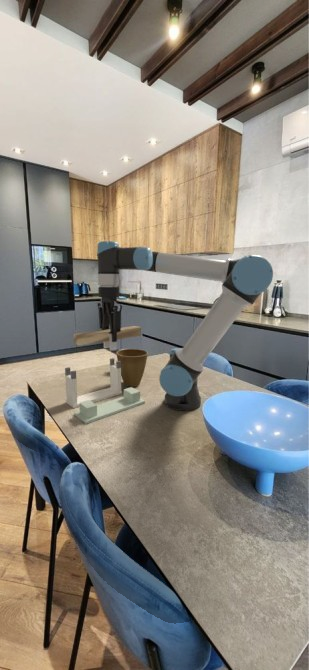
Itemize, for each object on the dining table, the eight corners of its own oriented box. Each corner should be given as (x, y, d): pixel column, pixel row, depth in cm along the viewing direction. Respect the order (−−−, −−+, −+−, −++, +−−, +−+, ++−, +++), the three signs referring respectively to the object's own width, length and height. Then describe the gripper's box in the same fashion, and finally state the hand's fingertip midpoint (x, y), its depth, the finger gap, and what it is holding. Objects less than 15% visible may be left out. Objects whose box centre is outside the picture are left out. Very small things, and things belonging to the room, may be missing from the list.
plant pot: (146, 390, 130) (147, 356, 127) (114, 389, 131) (114, 356, 127) (148, 378, 145) (148, 348, 142) (119, 378, 145) (118, 348, 142)
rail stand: (121, 393, 126) (121, 361, 123) (73, 408, 112) (71, 372, 108) (113, 388, 131) (112, 357, 128) (66, 402, 117) (64, 367, 114)
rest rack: (145, 403, 117) (145, 391, 116) (85, 424, 100) (85, 411, 99) (132, 396, 124) (132, 385, 123) (74, 414, 107) (73, 402, 106)
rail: (141, 335, 114) (141, 327, 113) (78, 345, 96) (78, 335, 96) (135, 334, 116) (135, 325, 115) (74, 343, 99) (73, 334, 98)
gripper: (130, 286, 99) (131, 351, 103) (105, 285, 111) (107, 343, 116) (112, 287, 94) (113, 355, 98) (88, 285, 106) (90, 346, 111)
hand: (110, 348), depth 107 cm, fingers closed on rail, 3 cm apart
